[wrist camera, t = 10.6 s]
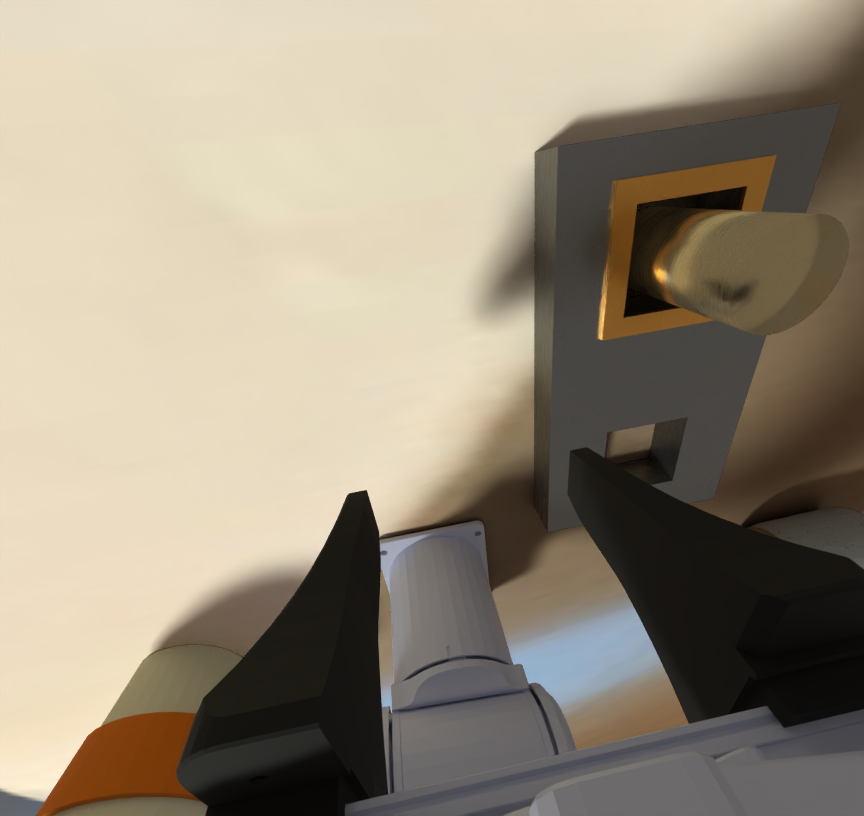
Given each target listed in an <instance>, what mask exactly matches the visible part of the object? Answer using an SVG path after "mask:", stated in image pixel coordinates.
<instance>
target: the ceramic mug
mask: <svg viewBox="0 0 864 816" xmlns="http://www.w3.org/2000/svg"><path fill="white" fill-rule="evenodd" d="M748 529H751V530H754V531H757V532H760V533H763V534H766V535H769V536H773V537H776V538H779V539H782V540H785V541H789V542H792V543H795V544H799V545H803V546H806V547H810V548H814V549H818V550H822V551H826V552H829V553H833V554H837V555H841V556H845V557H848V558H850V559H851V560H853V561H854V562H855V563H857V564H858V565H859V566H860V567H862V568H863V569H864V514H862V513H860V512H857V511H854V510H851V509H847V508H841V507H829V508H824V509H820V510H815V511H811V512H806V513H802V514H797V515H793V516H789V517H785V518H781V519H775V520H771V521H766V522H762V523H758V524H755V525H753V526H751V527H748Z"/></svg>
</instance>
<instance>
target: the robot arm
mask: <svg viewBox="0 0 864 816" xmlns="http://www.w3.org/2000/svg"><path fill="white" fill-rule="evenodd" d="M567 494H568V496H569V499H570V501H571V503H572V505H573V507H574V509H575V511H576V513H577V515H578V517H579V519H580V521H581V522H582V524H583V525H584V527H585V528H586V530H587V532H588V533H589V535H590V536H591V538H592V539H593V541H594V542H595V544H596V545H597V547H598V548H599V550H600V551H601V553H602V554H603V556H604V557H605V559H606V560H607V562H608V563H609V565H610V566H611V568H612V569H613V571H614V572H615V574H616V576H617V577H618V579H619V581H620V582H621V584H622V585H623V587H624V589H625V591H626V593H627V595H628V597H629V598H630V600H631V602H632V604H633V606H634V608H635V610H636V612H637V614H638V615H639V617H640V619H641V621H642V623H643V625H644V627H645V629H646V631H647V633H648V635H649V637H650V639H651V641H652V643H653V645H654V647H655V650H656V652H657V654H658V656H659V658H660V660H661V662H662V664H663V667H664V669H665V671H666V673H667V675H668V677H669V679H670V681H671V684H672V686H673V688H674V691H675V693H676V695H677V697H678V700H679V702H680V704H681V706H682V709H683V711H684V713H685V715H686V718H687V720H688V723H689V724H687V725H682V726H678V727H674V728H670V729H665V730H661V731H657V732H652V733H648V734H644V735H640V736H635V737H631V738H627V739H623V740H618V741H614V742H610V743H606V744H601V745H597V746H593V747H588V748H584V749H580V750H577V749H576V746H575V743H574V740H573V737H572V734H571V731H570V729H569V726H568V724H567V721H566V719H565V717H564V715H563V713H562V711H561V709H560V707H559V705H558V704H557V702H556V701H555V699H554V698H553V697H552V696H551V695H550V694H549V693H548V692H546V690H545V689H544V688H543V687H542V686H541V685H540V684H538V683H531V684H528V682H527V678H526V675H525V672H524V669H523V666H522V665H521V664H517V665H513V662H512V659H511V656H510V652H509V649H508V646H507V642H506V639H505V635H504V632H503V629H502V625H501V622H500V619H499V615H498V612H497V608H496V605H495V602H494V598H493V595H492V592H491V588H490V585H489V575H488V564H487V554H486V543H485V533H484V526H483V523H482V522H481V521H472V522H467V523H462V524H457V525H452V526H447V527H442V528H437V529H432V530H427V531H422V532H417V533H412V534H407V535H402V536H397V537H392V538H387V539H382V540H380V539H379V530H378V527H377V523H376V520H375V517H374V513H373V510H372V506H371V503H370V500H369V496H368V493H367V490H364V491H359V492H354V493H349V494H348V495H347V497H346V499H345V502H344V504H343V507H342V509H341V512H340V514H339V516H338V518H337V520H336V523H335V525H334V527H333V529H332V531H331V533H330V535H329V537H328V539H327V541H326V543H325V545H324V547H323V549H322V550H321V552H320V554H319V556H318V557H317V559H316V561H315V563H314V564H313V566H312V568H311V569H310V571H309V573H308V574H307V576H306V578H305V579H304V581H303V582H302V584H301V585H300V587H299V588H298V590H297V591H296V593H295V594H294V595H293V597H292V598H291V600H290V601H289V602H288V604H287V605H286V606H285V608H284V609H283V610H282V612H281V613H280V614H279V616H278V617H277V618H276V620H275V621H274V622H273V623H272V625H271V626H270V627H269V628H268V630H267V631H266V632H265V633H264V634H263V635H262V637H261V638H260V639H259V640H258V641H257V642H256V643H255V645H254V646H253V647H252V648H251V649H250V650H249V652H248V653H247V654H246V655H245V656H244V657H243V658H242V659H241V660H240V662H239V663H238V664H237V665H236V666H235V667H234V668H233V669H232V670H231V671H230V672H229V673H228V674H227V675H226V676H225V677H224V678H223V679H222V680H221V681H220V682H219V683H218V684H217V685H216V686H215V687H214V688H213V689H212V690H211V691H210V692H209V693H208V694H207V695H206V696H205V697H203V699H202V702H201V705H200V707H199V709H198V711H197V713H196V716H195V718H194V720H193V723H192V726H191V728H190V731H189V734H188V737H187V740H186V743H185V746H184V749H183V752H182V755H181V758H180V761H179V764H178V766H177V769H176V775H177V779H178V781H179V783H180V784H181V785H182V786H183V787H184V788H185V789H186V790H187V791H189V792H190V793H191V794H192V795H194V796H195V797H196V798H198V799H199V800H200V801H202V802H203V803H204V804H205V805H207V806H208V807H207V811H206V814H205V816H864V569H863V568H862V567H860V566H859V565H858V564H857V563H855V562H854V561H853V560H851V559H850V558H848V557H845V556H841V555H837V554H833V553H829V552H826V551H822V550H818V549H814V548H810V547H806V546H803V545H799V544H795V543H792V542H789V541H785V540H782V539H779V538H776V537H773V536H769V535H766V534H763V533H760V532H757V531H754V530H751V529H748V528H746V527H743V526H740V525H738V524H735V523H732V522H730V521H727V520H724V519H722V518H719V517H717V516H714V515H712V514H709V513H707V512H705V511H702V510H700V509H698V508H696V507H694V506H691V505H689V504H687V503H685V502H683V501H680V500H678V499H676V498H674V497H672V496H670V495H668V494H667V493H665V492H663V491H661V490H659V489H657V488H655V487H653V486H651V485H650V484H648V483H646V482H644V481H642V480H641V479H639V478H637V477H635V476H634V475H632V474H630V473H629V472H627V471H625V470H624V469H622V468H620V467H619V466H617V465H615V464H614V463H612V462H611V461H609V460H607V459H606V458H604V457H602V456H601V455H599V454H597V453H596V452H594V451H592V450H591V449H589V448H587V447H585V448H580V449H575V450H570V458H569V475H568V492H567ZM477 531H479V532H477ZM384 550H385V551H384ZM381 568H382V571H383V575H384V578H385V581H386V584H387V587H388V591H389V594H390V597H391V621H392V645H393V669H394V684H392V685H391V692H392V713H391V710H390V706H388V707H382V704H381V687H380V669H379V648H378V618H379V595H380V572H381Z"/></svg>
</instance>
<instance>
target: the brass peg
mask: <svg viewBox="0 0 864 816" xmlns="http://www.w3.org/2000/svg"><path fill="white" fill-rule="evenodd" d="M847 255H848V236H847V232H846V230H845V228H844V226H843V225H842V224H841V222H839V221H838V220H837V219H836V218H834V217H832V216H829V215H825V214H809V213H787V212H764V211H742V210H720V209H698V208H676V207H650V208H646V209H643V210H641V211H639V212H637V213H636V219H635V227H634V235H633V244H632V252H631V260H630V268H629V276H628V285H627V288H629V289H632V290H635V291H638V292H640V293H643V294H646V295H648V296H651V297H654V298H656V299H659V300H662V301H665V302H667V303H670V304H673V305H675V306H678V307H681V308H683V309H686V310H689V311H692V312H694V313H697V314H700V315H702V316H705V317H708V318H710V319H713V320H716V321H719V322H721V323H724V324H727V325H729V326H732V327H735V328H737V329H740V330H743V331H746V332H748V333H751V334H755V335H771V334H775V333H779V332H782V331H784V330H787V329H789V328H791V327H793V326H794V325H796V324H798V323H799V322H801V321H802V320H804V319H805V318H806V317H808V316H809V315H810V314H811V313H813V312H814V311H815V310H816V309H817V308H818V307H819V306H820V305H821V304H822V302H823V301H824V300H825V299H826V298H827V297H828V295H829V294H830V293H831V291H832V290H833V288H834V287H835V285H836V283H837V282H838V280H839V278H840V276H841V274H842V272H843V269H844V266H845V263H846V260H847Z"/></svg>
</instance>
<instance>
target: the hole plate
mask: <svg viewBox="0 0 864 816" xmlns="http://www.w3.org/2000/svg"><path fill="white" fill-rule="evenodd" d="M840 105H841V103H836V104H830V105H823V106H817V107H810V108H804V109H797V110H791V111H784V112H778V113H771V114H765V115H758V116H752V117H745V118H739V119H732V120H726V121H719V122H713V123H707V124H700V125H694V126H687V127H681V128H674V129H668V130H661V131H655V132H648V133H642V134H635V135H629V136H622V137H616V138H609V139H603V140H596V141H590V142H584V143H577V144H571V145H564V146H558V147H554V148H550V149H546V150H542V151H538V152H535V388H534V507H535V509H536V510H537V512H538V514H539V516H540V518H541V520H542V522H543V524H544V526H545V528H546V530H547V532H551V531H556V530H561V529H566V528H571V527H576V526H580V525H583V524H582V522H581V521H580V519H579V517H578V515H577V513H576V511H575V509H574V507H573V505H572V503H571V501H570V499H569V496H568V494H567V492H568V475H569V458H570V450H575V449H580V448H585V447H587V448H589V449H591V450H592V451H594V452H596V453H597V454H599V455H601V456H602V457H604V458H605V449H606V441H607V433H608V432H613V431H618V430H623V429H629V428H634V427H639V426H644V425H649V424H654V423H656V424H655V429H654V435H653V440H652V445H651V450H650V455H649V458H647V459H642V460H636V461H631V462H626V463H621V464H616V465H617V466H619V467H620V468H622V469H624V470H625V471H627V472H629V473H630V474H632V475H634V476H635V477H637V478H639V479H641V480H642V481H644V482H646V483H648V484H650V485H651V486H653V487H655V488H657V489H659V490H661V491H663V492H665V493H667V494H668V495H670V496H672V497H674V498H676V499H678V500H680V501H683V502H685V503H687V504H688V503H693V502H698V501H703V500H707V499H712V498H714V496H715V493H716V489H717V486H718V483H719V480H720V477H721V474H722V471H723V468H724V465H725V462H726V459H727V455H728V452H729V449H730V446H731V443H732V440H733V437H734V434H735V431H736V428H737V424H738V421H739V418H740V415H741V412H742V409H743V406H744V403H745V400H746V397H747V393H748V390H749V387H750V384H751V381H752V378H753V375H754V372H755V369H756V366H757V362H758V359H759V356H760V353H761V350H762V347H763V344H764V341H765V338H766V335H755V334H751V333H748V332H746V331H743V330H740V329H737V328H735V327H732V326H729V325H727V324H724V323H721V322H719V321H716V320H713V319H710V318H708V317H705V316H702V315H700V314H697V313H694V312H692V311H689V310H686V309H683V308H681V307H678V306H675V305H673V304H670V303H667V302H665V301H662V300H659V299H656V298H654V297H651V296H648V295H646V296H640V297H634V298H629V299H626V293H627V285H628V276H629V268H630V260H631V252H632V244H633V235H634V227H635V219H636V211H637V204H640V203H646V202H652V201H658V200H665V199H671V198H677V197H683V196H689V195H695V194H700V196H699V201H698V206H697V208H698V209H720V210H742V211H764V212H787V213H806V211H807V208H808V204H809V201H810V198H811V195H812V192H813V189H814V186H815V183H816V180H817V177H818V173H819V170H820V167H821V164H822V161H823V158H824V155H825V152H826V149H827V146H828V142H829V139H830V136H831V133H832V130H833V127H834V124H835V121H836V118H837V115H838V111H839V108H840Z"/></svg>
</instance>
